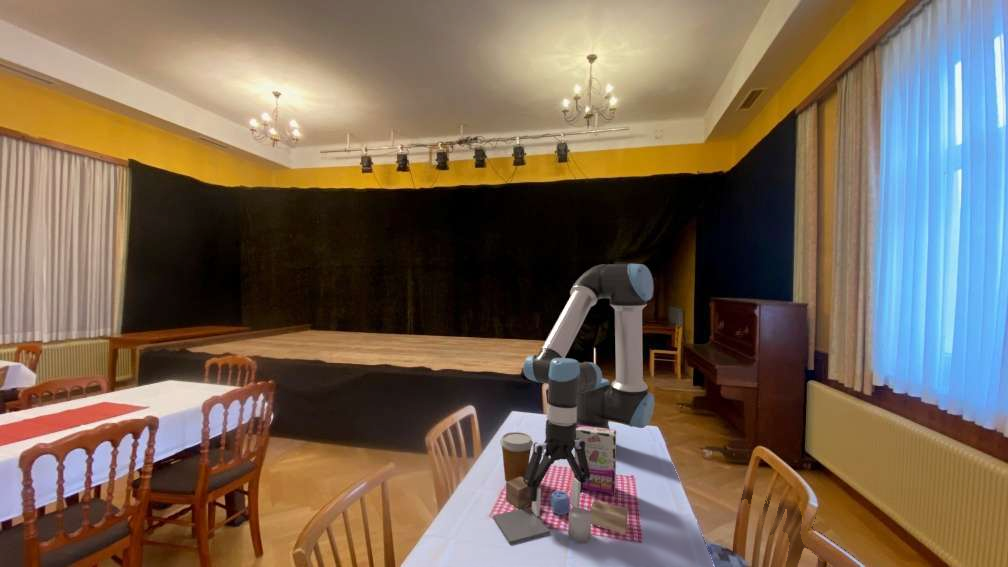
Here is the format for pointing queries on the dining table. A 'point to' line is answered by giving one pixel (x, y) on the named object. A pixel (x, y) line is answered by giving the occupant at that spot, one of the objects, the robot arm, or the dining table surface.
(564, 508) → the decorative dice
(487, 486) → the dining table surface
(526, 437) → the disposable coffee cup
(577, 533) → the grey plastic cylinder
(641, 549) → the dining table surface
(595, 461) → the candy bar box
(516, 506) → the walnut cube
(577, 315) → the robot arm
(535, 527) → the slate coaster
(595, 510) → the maple bar
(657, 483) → the dining table surface
